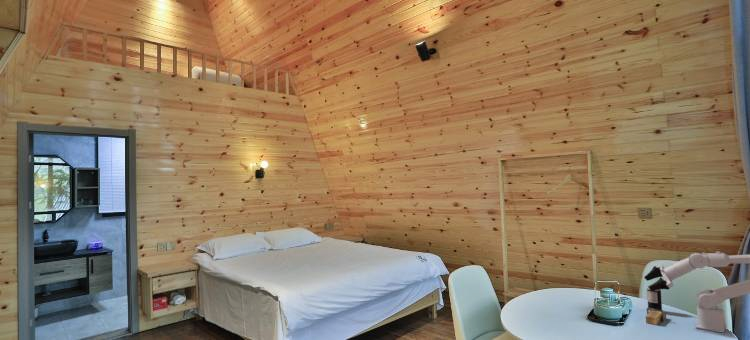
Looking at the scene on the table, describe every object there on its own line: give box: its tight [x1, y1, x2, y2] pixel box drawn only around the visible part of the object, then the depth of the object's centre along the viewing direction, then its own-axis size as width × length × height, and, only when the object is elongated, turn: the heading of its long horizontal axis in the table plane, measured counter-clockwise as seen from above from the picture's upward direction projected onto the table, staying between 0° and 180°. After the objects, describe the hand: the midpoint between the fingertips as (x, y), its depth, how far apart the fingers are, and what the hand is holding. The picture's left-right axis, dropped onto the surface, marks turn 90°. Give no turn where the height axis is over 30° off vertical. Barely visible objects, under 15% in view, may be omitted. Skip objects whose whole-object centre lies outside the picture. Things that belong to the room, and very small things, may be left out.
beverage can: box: [646, 285, 663, 312], centre depth 204 cm, size 6×6×12 cm
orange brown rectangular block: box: [645, 310, 662, 326], centre depth 191 cm, size 4×12×4 cm, turn 134°
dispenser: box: [646, 307, 667, 323], centre depth 194 cm, size 6×6×5 cm
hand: (647, 283), depth 193 cm, fingers open, 7 cm apart
